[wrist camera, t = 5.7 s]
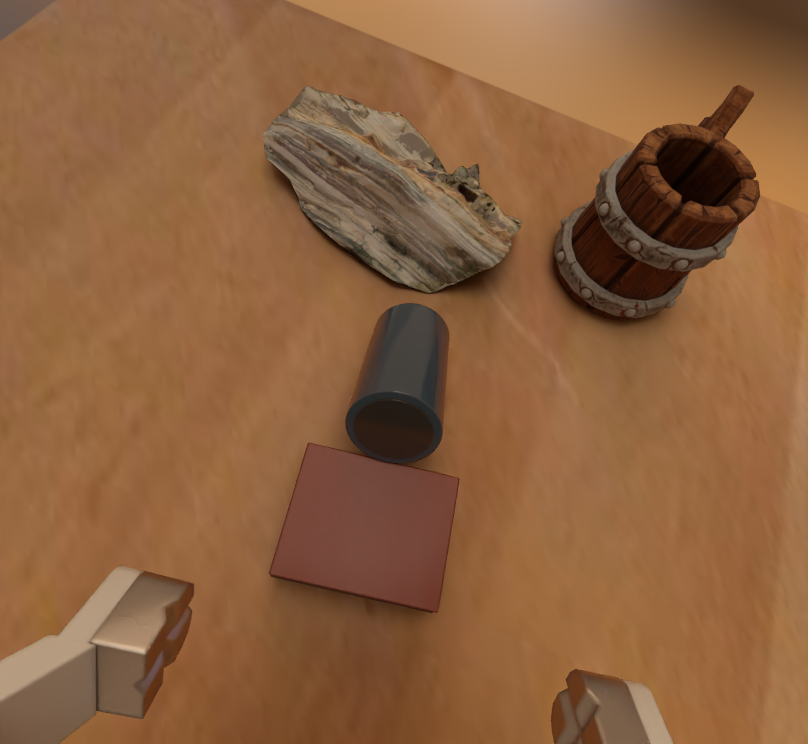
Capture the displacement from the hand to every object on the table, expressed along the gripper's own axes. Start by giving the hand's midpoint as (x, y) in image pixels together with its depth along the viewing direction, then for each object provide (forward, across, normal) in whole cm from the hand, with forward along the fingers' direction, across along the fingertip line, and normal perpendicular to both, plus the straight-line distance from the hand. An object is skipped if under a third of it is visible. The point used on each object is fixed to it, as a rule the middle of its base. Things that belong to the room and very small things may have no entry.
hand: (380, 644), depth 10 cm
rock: (+38, +4, -7) cm, 39 cm away
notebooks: (+18, 0, +13) cm, 22 cm away
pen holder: (+26, 0, +2) cm, 26 cm away
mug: (+38, -17, -7) cm, 42 cm away
